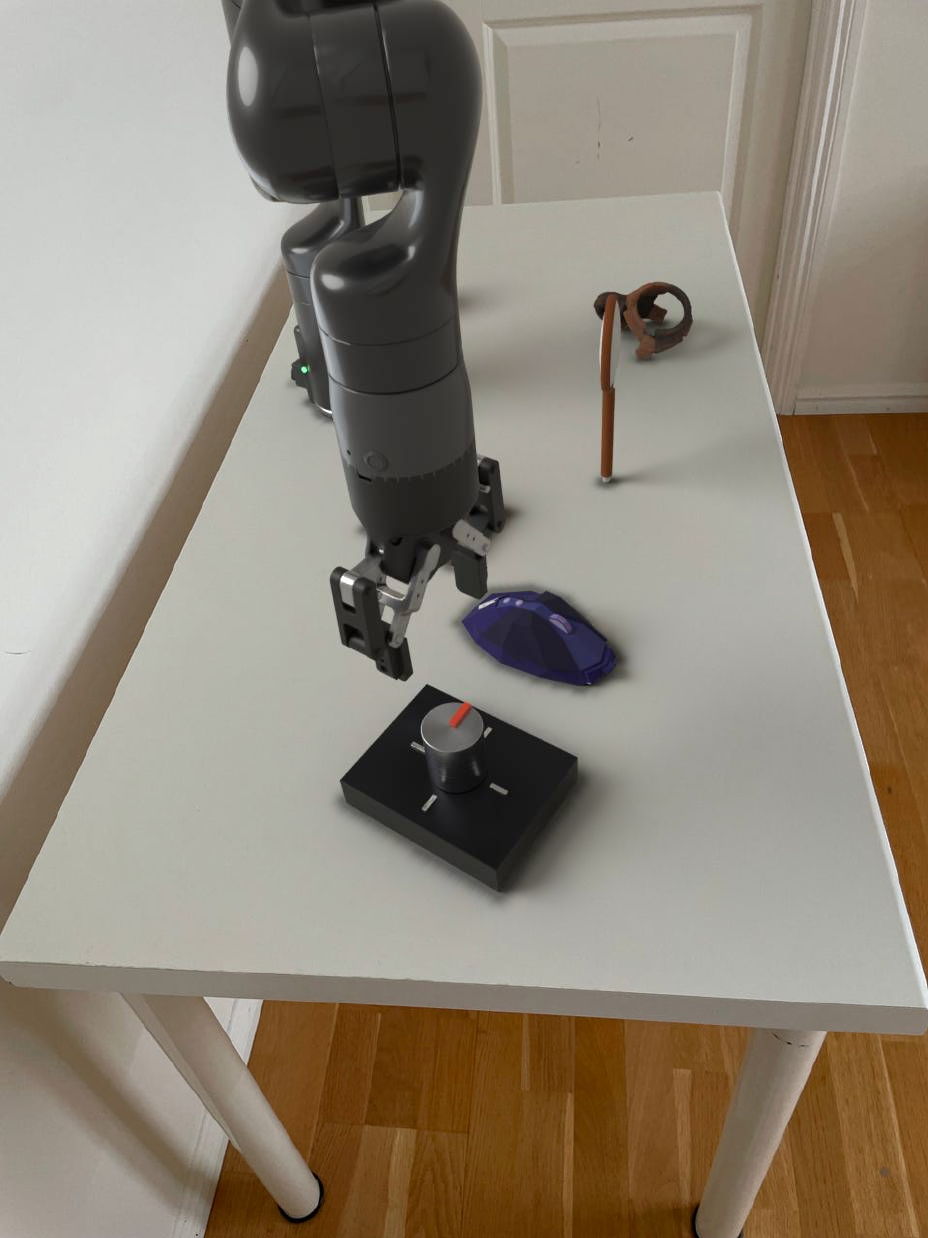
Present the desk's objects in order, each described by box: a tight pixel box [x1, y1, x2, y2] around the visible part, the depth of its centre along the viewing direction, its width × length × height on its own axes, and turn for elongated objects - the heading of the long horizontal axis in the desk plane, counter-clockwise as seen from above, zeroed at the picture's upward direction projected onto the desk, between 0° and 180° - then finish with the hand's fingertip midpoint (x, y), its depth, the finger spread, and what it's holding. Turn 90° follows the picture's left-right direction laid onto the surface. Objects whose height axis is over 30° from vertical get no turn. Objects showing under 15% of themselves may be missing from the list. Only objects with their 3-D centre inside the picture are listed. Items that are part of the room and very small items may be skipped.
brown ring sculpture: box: [592, 281, 694, 361], centre depth 114 cm, size 12×10×8 cm
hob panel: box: [339, 683, 579, 893], centre depth 71 cm, size 14×11×3 cm
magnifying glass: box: [599, 294, 622, 483], centre depth 90 cm, size 9×2×20 cm, turn 168°
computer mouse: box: [460, 590, 617, 686], centre depth 81 cm, size 9×15×4 cm, turn 50°
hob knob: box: [421, 701, 488, 793], centre depth 68 cm, size 4×4×5 cm
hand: (436, 631), depth 63 cm, fingers open, 8 cm apart
